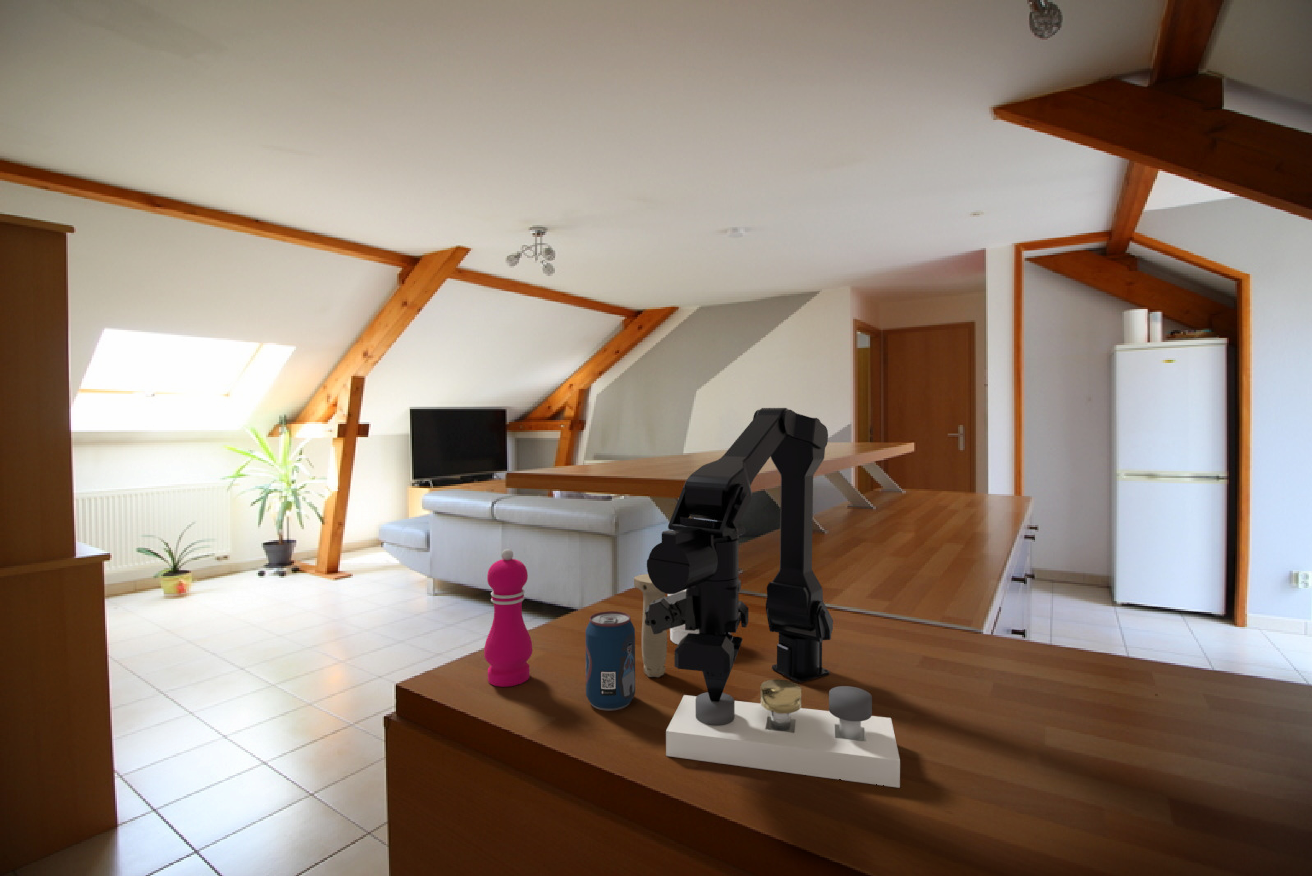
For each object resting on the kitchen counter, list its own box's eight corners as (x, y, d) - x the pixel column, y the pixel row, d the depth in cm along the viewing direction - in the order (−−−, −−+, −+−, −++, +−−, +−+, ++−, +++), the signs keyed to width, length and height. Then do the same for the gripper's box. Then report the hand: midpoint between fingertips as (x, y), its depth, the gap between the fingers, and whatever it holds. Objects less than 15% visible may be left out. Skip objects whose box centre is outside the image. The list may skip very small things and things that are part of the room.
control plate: (890, 742, 79) (890, 718, 79) (899, 787, 69) (899, 760, 69) (684, 717, 86) (684, 695, 86) (666, 755, 76) (666, 730, 76)
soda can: (589, 690, 94) (588, 609, 94) (636, 691, 94) (636, 609, 93) (582, 712, 87) (581, 625, 87) (633, 713, 87) (633, 625, 86)
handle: (662, 684, 96) (661, 585, 95) (628, 674, 100) (628, 578, 99) (680, 674, 100) (679, 578, 99) (647, 664, 104) (646, 572, 103)
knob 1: (736, 730, 81) (736, 694, 81) (731, 749, 77) (731, 711, 76) (699, 726, 82) (699, 690, 82) (692, 744, 78) (692, 706, 78)
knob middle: (801, 719, 79) (802, 681, 79) (800, 738, 74) (800, 698, 74) (762, 714, 80) (762, 677, 80) (758, 733, 76) (758, 693, 76)
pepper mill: (542, 673, 100) (540, 546, 99) (513, 692, 94) (511, 556, 93) (504, 666, 103) (503, 542, 102) (474, 683, 97) (472, 551, 96)
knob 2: (870, 727, 77) (870, 688, 77) (872, 747, 72) (873, 706, 72) (828, 722, 78) (828, 684, 78) (828, 741, 74) (829, 701, 73)
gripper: (669, 555, 90) (669, 665, 90) (630, 591, 72) (630, 728, 72) (749, 560, 87) (748, 673, 88) (729, 598, 69) (728, 740, 70)
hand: (715, 700), depth 79 cm, fingers closed, pressing on knob 1
